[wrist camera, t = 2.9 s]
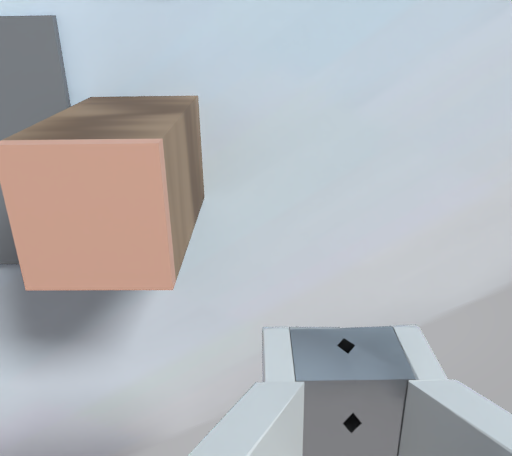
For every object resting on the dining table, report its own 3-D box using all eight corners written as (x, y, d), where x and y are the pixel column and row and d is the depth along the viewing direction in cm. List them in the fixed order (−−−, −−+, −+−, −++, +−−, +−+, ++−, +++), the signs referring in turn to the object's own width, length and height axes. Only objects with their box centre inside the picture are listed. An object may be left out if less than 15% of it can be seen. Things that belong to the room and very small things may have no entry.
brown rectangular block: (198, 95, 23) (158, 143, 14) (204, 197, 25) (172, 289, 16) (90, 97, 23) (-9, 145, 15) (105, 198, 25) (25, 290, 17)
